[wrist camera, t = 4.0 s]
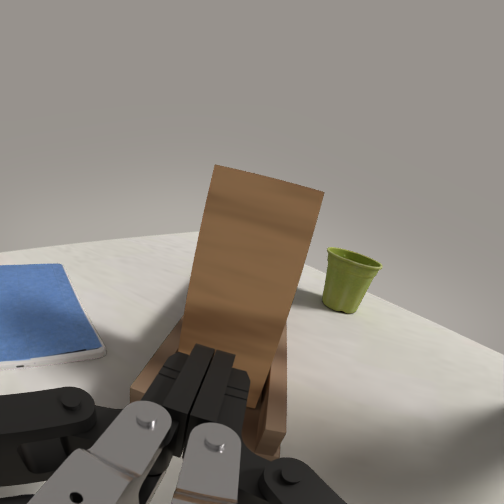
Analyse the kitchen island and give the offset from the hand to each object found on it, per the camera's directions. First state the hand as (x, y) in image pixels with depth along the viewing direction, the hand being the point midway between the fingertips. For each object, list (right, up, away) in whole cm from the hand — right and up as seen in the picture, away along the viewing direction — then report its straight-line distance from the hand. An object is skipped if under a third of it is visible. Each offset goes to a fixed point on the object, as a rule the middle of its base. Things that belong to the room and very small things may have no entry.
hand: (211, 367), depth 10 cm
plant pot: (+16, -5, +36) cm, 40 cm away
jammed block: (-1, -5, +11) cm, 13 cm away
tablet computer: (-21, -2, +12) cm, 25 cm away
